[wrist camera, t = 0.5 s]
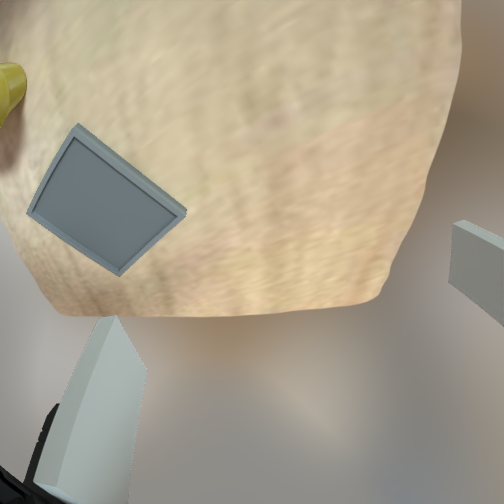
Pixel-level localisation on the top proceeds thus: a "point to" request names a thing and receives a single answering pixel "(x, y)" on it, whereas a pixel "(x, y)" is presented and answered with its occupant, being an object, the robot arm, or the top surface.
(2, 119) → the plant pot
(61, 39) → the top surface
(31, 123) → the top surface
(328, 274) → the top surface
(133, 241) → the charcoal tray
